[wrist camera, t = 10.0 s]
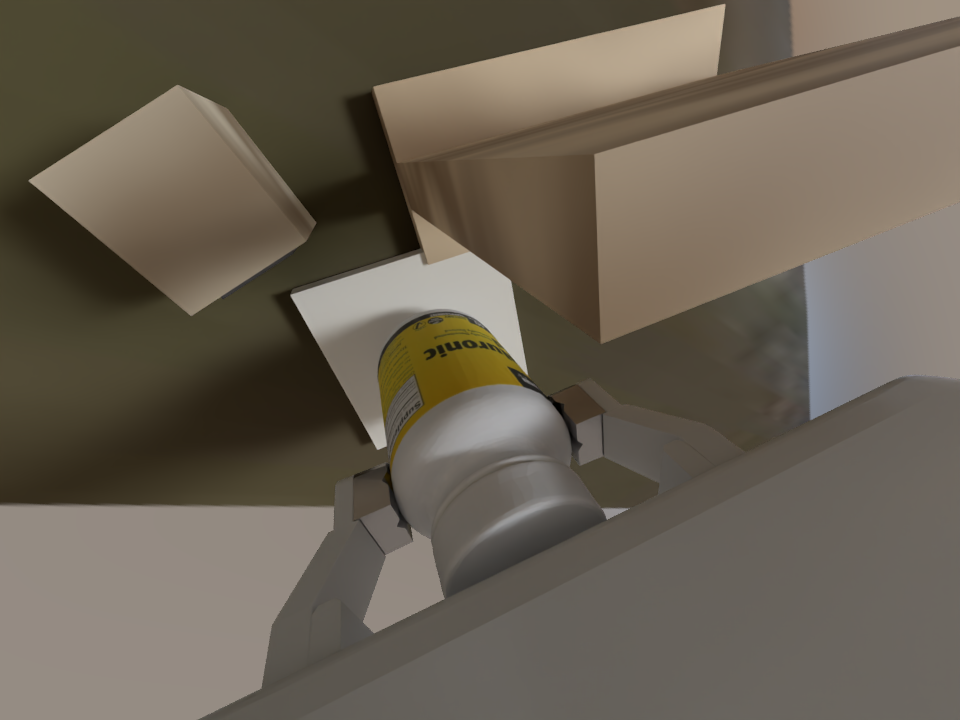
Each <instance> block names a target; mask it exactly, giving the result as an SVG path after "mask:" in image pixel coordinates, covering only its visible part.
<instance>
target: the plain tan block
mask: <svg viewBox="0 0 960 720" xmlns="http://www.w3.org/2000/svg"><path fill="white" fill-rule="evenodd" d="M28 181H29V182H31V183H32V184H33V185H34V186H35V187H37V188H38V189H39V190H40V191H41V192H43V193H44V194H45V195H46V196H47V197H49V198H50V199H51V200H52V201H53V202H55V203H56V204H57V205H58V206H59V207H61V208H62V209H63V210H64V211H65V212H67V213H68V214H69V215H70V216H71V217H73V218H74V219H75V220H76V221H78V222H79V223H80V224H81V225H82V226H84V227H85V228H86V229H87V230H88V231H90V232H91V233H92V234H93V235H94V236H96V237H97V238H98V239H99V240H100V241H102V242H103V243H104V244H105V245H106V246H108V247H109V248H110V249H111V250H112V251H114V252H115V253H116V254H117V255H118V256H120V257H121V258H122V259H123V260H124V261H126V262H127V263H128V264H129V265H130V266H132V267H133V268H134V269H135V270H136V271H138V272H139V273H140V274H141V275H142V276H144V277H145V278H146V279H147V280H148V281H150V282H151V283H152V284H153V285H154V286H156V287H157V288H158V289H159V290H160V291H162V292H163V293H164V294H165V295H166V296H168V297H169V298H170V299H171V300H172V301H174V302H175V303H176V304H177V305H179V306H180V307H181V308H182V309H183V310H185V311H186V312H187V313H188V314H189V315H191V316H192V315H193V314H195V313H197V312H198V311H200V310H201V309H203V308H204V307H206V306H207V305H209V304H210V303H212V302H213V301H215V300H217V299H218V298H220V297H221V298H222V299H224V298H226V297H227V296H229V295H230V294H232V293H233V292H235V291H237V290H238V289H240V288H241V287H243V286H244V285H246V284H247V283H249V282H250V281H252V280H253V279H255V278H257V277H258V276H260V275H261V274H263V273H264V272H266V271H267V270H269V269H270V268H272V267H273V266H275V265H277V264H278V263H280V262H281V261H283V260H284V259H286V258H287V257H289V256H290V255H292V254H293V253H294V252H295V250H296V249H297V247H298V246H300V245H301V244H303V243H304V242H306V241H307V239H308V237H309V236H310V234H311V232H312V230H313V228H314V227H315V225H316V222H315V220H314V219H313V218H312V216H311V215H310V214H309V213H308V211H307V210H306V209H305V207H304V206H303V205H302V204H301V202H300V201H299V200H298V198H297V197H296V196H295V195H294V193H293V192H292V191H291V189H290V188H289V187H288V186H287V184H286V183H285V182H284V181H283V179H282V178H281V177H280V175H279V174H278V173H277V172H276V170H275V169H274V168H273V166H272V165H271V164H270V163H269V161H268V160H267V159H266V157H265V156H264V155H263V154H262V152H261V151H260V150H259V149H258V147H257V146H256V145H255V143H254V142H253V141H252V140H251V138H250V137H249V136H248V134H247V133H246V132H245V131H244V129H243V128H242V127H241V125H240V124H239V123H238V122H237V120H236V119H235V118H234V116H233V115H232V114H231V113H230V111H229V110H228V109H227V108H225V107H223V106H221V105H219V104H217V103H215V102H213V101H210V100H208V99H206V98H204V97H202V96H200V95H198V94H196V93H194V92H192V91H190V90H187V89H185V88H183V87H181V86H179V85H177V86H175V87H174V88H172V89H170V90H169V91H167V92H166V93H164V94H163V95H161V96H160V97H158V98H156V99H155V100H153V101H152V102H150V103H149V104H147V105H145V106H144V107H142V108H141V109H139V110H138V111H136V112H135V113H133V114H131V115H130V116H128V117H127V118H125V119H124V120H122V121H121V122H119V123H117V124H116V125H114V126H113V127H111V128H110V129H108V130H106V131H105V132H103V133H102V134H100V135H99V136H97V137H96V138H94V139H92V140H91V141H89V142H88V143H86V144H85V145H83V146H82V147H80V148H78V149H77V150H75V151H74V152H72V153H71V154H69V155H67V156H66V157H64V158H63V159H61V160H60V161H58V162H57V163H55V164H53V165H52V166H50V167H49V168H47V169H46V170H44V171H43V172H41V173H39V174H38V175H36V176H35V177H33V178H32V179H30V180H28Z"/></svg>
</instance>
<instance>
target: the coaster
mask: <svg viewBox="0 0 960 720" xmlns="http://www.w3.org/2000/svg"><path fill="white" fill-rule="evenodd" d="M290 296H291V297H292V299H293V301H294V303H295V304H296V306H297V308H298V310H299V311H300V313H301V315H302V317H303V319H304V320H305V322H306V324H307V326H308V327H309V329H310V331H311V333H312V335H313V336H314V338H315V340H316V342H317V343H318V345H319V347H320V349H321V350H322V352H323V354H324V356H325V358H326V359H327V361H328V363H329V365H330V366H331V368H332V370H333V372H334V373H335V375H336V377H337V379H338V381H339V382H340V384H341V386H342V388H343V389H344V391H345V393H346V395H347V397H348V398H349V400H350V402H351V404H352V405H353V407H354V409H355V411H356V412H357V414H358V416H359V418H360V420H361V421H362V423H363V425H364V427H365V428H366V430H367V432H368V434H369V436H370V437H371V439H372V441H373V443H374V444H375V446H376V448H377V450H378V449H381V448H383V447H386V446H387V443H386V436H385V428H384V421H383V414H382V406H381V399H380V391H379V384H378V377H377V375H378V360H379V356H380V352H381V349H382V347H383V345H384V343H385V341H386V339H387V338H388V337H389V335H390V334H391V333H392V331H393V330H394V329H395V328H396V327H397V326H398V325H400V324H401V323H402V322H403V321H405V320H406V319H408V318H410V317H412V316H413V315H416V314H418V313H421V312H424V311H428V310H434V309H451V310H456V311H460V312H463V313H466V314H468V315H470V316H472V317H474V318H475V319H477V320H478V321H479V322H480V323H482V324H483V325H484V326H485V327H486V328H487V329H488V330H489V331H490V332H491V333H492V335H493V336H494V337H495V338H496V340H497V341H498V342H499V343H500V344H501V345H502V346H503V347H504V349H505V350H506V351H507V352H508V353H509V354H510V356H511V357H512V358H513V359H514V360H515V362H516V363H517V364H518V365H519V366H520V367H521V369H522V370H523V371H524V372H525V373H526V374H527V375H528V373H527V368H526V362H525V357H524V351H523V346H522V340H521V334H520V329H519V323H518V318H517V312H516V307H515V301H514V296H513V290H512V285H511V280H510V279H508V278H507V277H505V276H504V275H503V274H501V273H500V272H498V271H497V270H496V269H494V268H493V267H491V266H490V265H489V264H487V263H486V262H484V261H483V260H481V259H480V258H479V257H477V256H476V255H474V254H473V253H472V252H467V253H464V254H461V255H458V256H455V257H452V258H449V259H445V260H442V261H439V262H436V263H433V264H430V265H428V264H427V260H426V257H425V254H424V252H423V251H422V249H421V248H420V249H417V250H414V251H411V252H408V253H405V254H401V255H398V256H395V257H392V258H389V259H386V260H383V261H379V262H376V263H373V264H370V265H367V266H364V267H360V268H357V269H354V270H351V271H348V272H345V273H341V274H338V275H335V276H332V277H329V278H326V279H323V280H319V281H316V282H313V283H310V284H307V285H304V286H300V287H297V288H294V289H293V290H292V292H291V294H290Z"/></svg>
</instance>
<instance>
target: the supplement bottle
mask: <svg viewBox="0 0 960 720" xmlns="http://www.w3.org/2000/svg"><path fill="white" fill-rule="evenodd" d="M377 377H378V384H379V391H380V399H381V406H382V414H383V421H384V428H385V436H386V443H387V450H388V457H389V467H390V472H391V480H392V486H393V491H394V495H395V499H396V502H397V505H398V508H399V510H400V512H401V514H402V515H403V517H404V518H405V520H406V521H407V522H408V523H409V524H410V526H411V527H412V528H414V529H415V530H416V531H418V532H419V533H420V534H422V535H424V536H426V537H427V538H429V539H431V542H432V546H433V554H434V558H435V563H436V567H437V571H438V575H439V578H440V582H441V587H442V591H443V595H444V597H445V599H446V598H448V597H450V596H452V595H454V594H456V593H458V592H460V591H463V590H465V589H467V588H469V587H471V586H473V585H475V584H477V583H479V582H481V581H483V580H485V579H487V578H489V577H491V576H493V575H495V574H497V573H499V572H501V571H503V570H506V569H508V568H510V567H512V566H514V565H516V564H518V563H520V562H522V561H524V560H526V559H528V558H530V557H532V556H534V555H536V554H538V553H540V552H542V551H544V550H546V549H548V548H551V547H553V546H555V545H557V544H559V543H561V542H563V541H565V540H567V539H569V538H571V537H573V536H575V535H577V534H579V533H581V532H583V531H585V530H587V529H589V528H591V527H593V526H596V525H598V524H600V523H602V522H604V521H606V516H605V514H604V512H603V510H602V509H601V507H600V506H599V505H598V503H597V502H596V500H595V499H594V498H593V496H592V495H591V494H590V492H589V491H588V490H587V488H586V487H585V485H584V484H583V482H582V480H581V479H580V477H579V476H578V475H577V474H576V473H575V472H574V471H573V470H571V469H570V463H571V454H572V444H571V438H570V434H569V430H568V428H567V426H566V423H565V421H564V419H563V418H562V416H561V415H560V413H559V412H558V411H557V410H556V408H555V407H554V406H553V405H552V403H551V402H550V400H549V399H548V398H547V397H546V396H545V395H544V394H543V393H542V391H541V390H540V389H539V388H538V387H537V386H536V384H535V383H534V382H533V381H532V380H531V379H530V378H529V377H528V375H527V374H526V373H525V372H524V371H523V370H522V369H521V367H520V366H519V365H518V364H517V363H516V362H515V360H514V359H513V358H512V357H511V356H510V354H509V353H508V352H507V351H506V350H505V349H504V347H503V346H502V345H501V344H500V343H499V342H498V341H497V340H496V338H495V337H494V336H493V335H492V333H491V332H490V331H489V330H488V329H487V328H486V327H485V326H484V325H483V324H482V323H480V322H479V321H478V320H477V319H475V318H474V317H472V316H470V315H468V314H466V313H463V312H460V311H456V310H451V309H434V310H428V311H424V312H421V313H418V314H416V315H413V316H412V317H410V318H408V319H406V320H405V321H403V322H402V323H401V324H400V325H398V326H397V327H396V328H395V329H394V330H393V331H392V333H391V334H390V335H389V337H388V338H387V339H386V341H385V343H384V345H383V347H382V349H381V352H380V356H379V360H378V375H377Z"/></svg>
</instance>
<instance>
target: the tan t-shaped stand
mask: <svg viewBox="0 0 960 720" xmlns="http://www.w3.org/2000/svg"><path fill="white" fill-rule="evenodd" d="M724 11H725V4H723V5H719V6H714V7H710V8H706V9H702V10H697V11H693V12H689V13H685V14H680V15H676V16H672V17H668V18H663V19H659V20H655V21H651V22H646V23H642V24H638V25H634V26H629V27H625V28H621V29H617V30H612V31H608V32H604V33H599V34H595V35H591V36H587V37H582V38H578V39H574V40H570V41H565V42H561V43H557V44H553V45H548V46H544V47H540V48H536V49H531V50H527V51H523V52H519V53H514V54H510V55H506V56H502V57H497V58H493V59H489V60H485V61H480V62H476V63H472V64H468V65H463V66H459V67H455V68H451V69H446V70H442V71H438V72H434V73H429V74H425V75H421V76H417V77H412V78H408V79H404V80H400V81H395V82H391V83H387V84H383V85H378V86H374V87H373V89H372V96H373V99H374V102H375V105H376V108H377V111H378V115H379V118H380V121H381V124H382V127H383V131H384V134H385V137H386V140H387V143H388V146H389V150H390V153H391V156H392V159H393V162H394V165H395V169H396V172H397V175H398V178H399V181H400V184H401V188H402V191H403V194H404V197H405V200H406V204H407V207H408V210H409V213H410V216H411V219H412V223H413V226H414V229H415V232H416V235H417V238H418V242H419V245H420V248H421V249H422V251H423V252H424V254H425V257H426V260H427V264H428V265H430V264H433V263H436V262H439V261H442V260H445V259H449V258H452V257H455V256H458V255H461V254H464V253H467V252H472V253H473V254H474V255H476V256H477V257H479V258H480V259H481V260H483V261H484V262H486V263H487V264H489V265H490V266H491V267H493V268H494V269H496V270H497V271H498V272H500V273H501V274H503V275H504V276H505V277H507V278H508V279H510V280H511V281H513V282H514V283H515V284H517V285H518V286H520V287H521V288H522V289H524V290H525V291H527V292H528V293H529V294H531V295H532V296H534V297H535V298H536V299H538V300H539V301H541V302H542V303H544V304H545V305H546V306H548V307H549V308H551V309H552V310H553V311H555V312H556V313H558V314H559V315H560V316H562V317H563V318H565V319H566V320H568V321H569V322H570V323H572V324H573V325H575V326H576V327H577V328H579V329H580V330H582V331H583V332H584V333H586V334H587V335H589V336H590V337H592V338H593V339H594V340H596V341H597V342H599V343H600V344H602V343H605V342H607V341H610V340H612V339H615V338H617V337H620V336H622V335H625V334H628V333H630V332H633V331H635V330H638V329H640V328H643V327H645V326H648V325H650V324H653V323H655V322H658V321H660V320H663V319H665V318H668V317H671V316H673V315H676V314H678V313H681V312H683V311H686V310H688V309H691V308H693V307H696V306H698V305H701V304H703V303H706V302H709V301H711V300H714V299H716V298H719V297H721V296H724V295H726V294H729V293H731V292H734V291H736V290H739V289H741V288H744V287H746V286H749V285H752V284H754V283H757V282H759V281H762V280H764V279H767V278H769V277H772V276H774V275H777V274H779V273H782V272H784V271H787V270H789V269H792V268H795V267H797V266H800V265H802V264H805V263H807V262H810V261H812V260H815V259H817V258H820V257H822V256H825V255H827V254H830V253H833V252H835V251H838V250H840V249H843V248H845V247H848V246H850V245H853V244H855V243H858V242H860V241H863V240H865V239H868V238H870V237H873V236H875V235H878V234H881V233H883V232H885V231H888V230H891V229H893V228H896V227H898V226H901V225H903V224H906V223H908V222H911V221H913V220H916V219H919V218H921V217H924V216H926V215H929V214H931V213H934V212H936V211H939V210H941V209H944V208H946V207H949V206H951V205H954V204H956V203H959V202H960V17H956V18H951V19H947V20H944V21H940V22H935V23H931V24H927V25H923V26H919V27H915V28H911V29H907V30H902V31H898V32H894V33H890V34H886V35H882V36H878V37H874V38H870V39H865V40H861V41H857V42H853V43H849V44H845V45H840V46H837V47H832V48H828V49H824V50H820V51H816V52H812V53H808V54H804V55H799V56H795V57H791V58H787V59H783V60H779V61H775V62H771V63H766V64H762V65H758V66H754V67H750V68H746V69H742V70H738V71H734V72H729V73H725V74H721V75H717V69H718V60H719V52H720V44H721V36H722V28H723V19H724Z"/></svg>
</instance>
